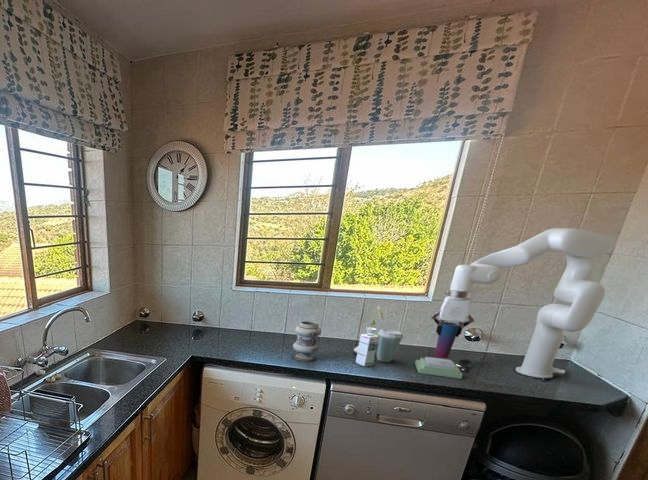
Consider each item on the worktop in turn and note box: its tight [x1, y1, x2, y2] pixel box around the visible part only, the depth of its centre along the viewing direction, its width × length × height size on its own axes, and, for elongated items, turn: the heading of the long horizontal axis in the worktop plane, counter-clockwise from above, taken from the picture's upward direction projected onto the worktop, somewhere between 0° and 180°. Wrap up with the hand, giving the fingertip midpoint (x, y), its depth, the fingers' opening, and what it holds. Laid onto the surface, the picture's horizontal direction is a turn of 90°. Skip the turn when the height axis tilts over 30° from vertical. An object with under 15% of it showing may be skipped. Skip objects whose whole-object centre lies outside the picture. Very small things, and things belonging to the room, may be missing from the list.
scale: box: [414, 357, 464, 380], centre depth 184 cm, size 16×14×4 cm
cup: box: [434, 321, 460, 359], centre depth 179 cm, size 7×7×15 cm
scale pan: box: [424, 356, 455, 369], centre depth 183 cm, size 10×10×2 cm
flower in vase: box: [353, 305, 385, 356], centre depth 202 cm, size 13×11×25 cm
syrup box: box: [355, 333, 380, 367], centre depth 190 cm, size 6×6×14 cm
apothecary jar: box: [292, 320, 322, 362], centre depth 197 cm, size 12×12×18 cm
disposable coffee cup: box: [376, 328, 404, 363], centre depth 195 cm, size 11×11×15 cm
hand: (447, 334), depth 178 cm, fingers closed on cup, 6 cm apart
